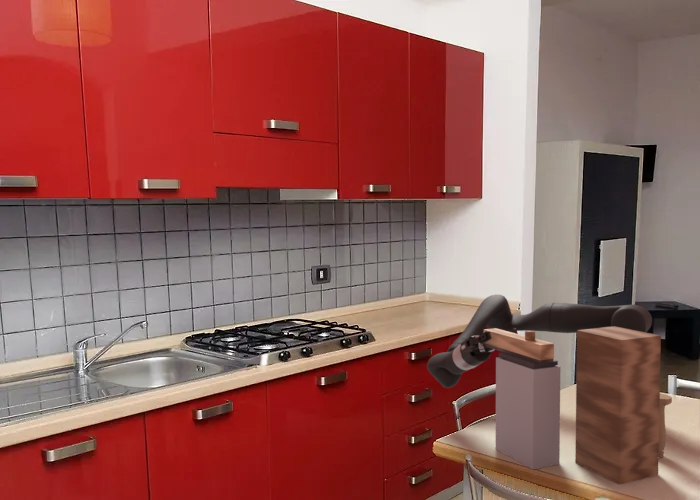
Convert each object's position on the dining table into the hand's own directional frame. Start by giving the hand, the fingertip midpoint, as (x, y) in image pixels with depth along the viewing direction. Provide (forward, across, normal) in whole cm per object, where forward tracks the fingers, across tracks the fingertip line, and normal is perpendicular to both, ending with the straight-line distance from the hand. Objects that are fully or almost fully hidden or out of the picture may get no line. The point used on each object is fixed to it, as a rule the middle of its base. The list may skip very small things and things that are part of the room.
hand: (502, 333), depth 154 cm
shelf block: (+6, -14, -37) cm, 40 cm away
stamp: (+3, 0, -6) cm, 7 cm away
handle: (+5, -29, -36) cm, 47 cm away
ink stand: (-6, 0, -30) cm, 30 cm away
